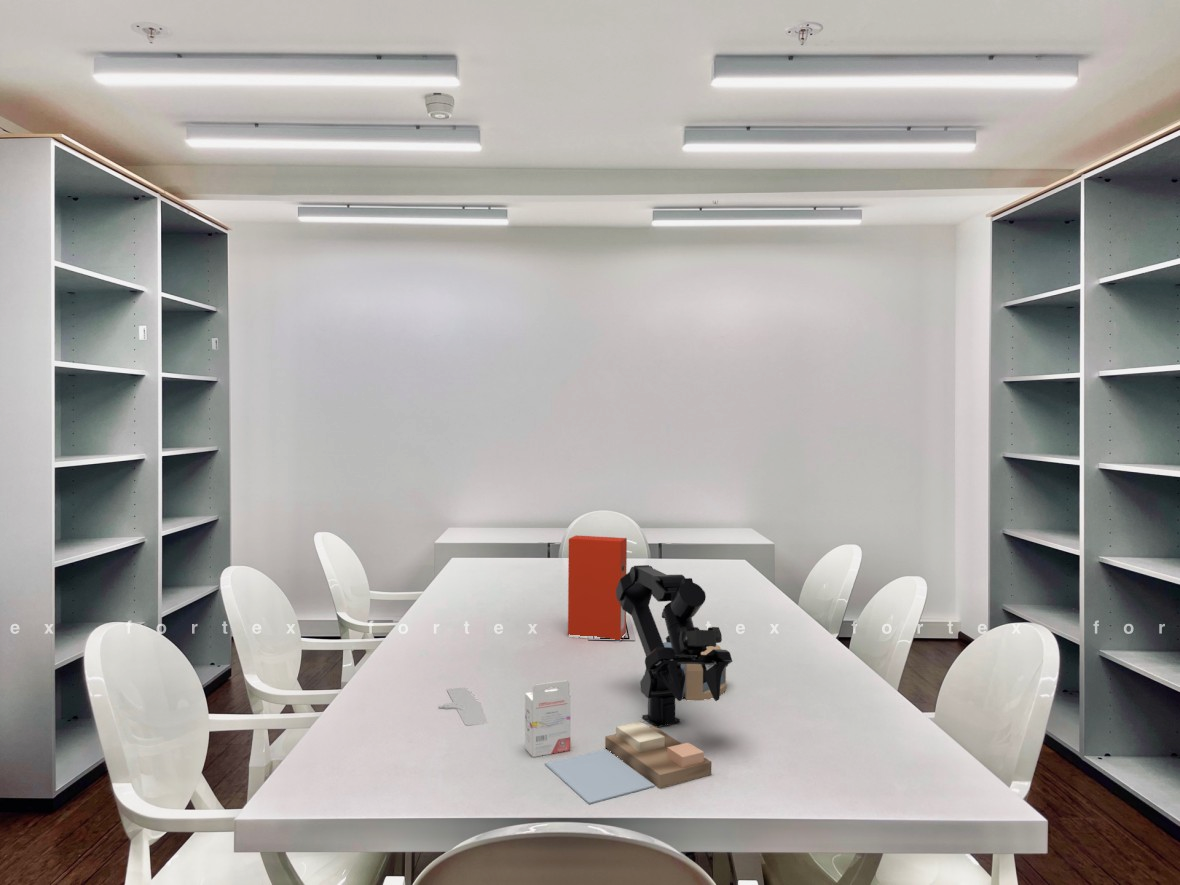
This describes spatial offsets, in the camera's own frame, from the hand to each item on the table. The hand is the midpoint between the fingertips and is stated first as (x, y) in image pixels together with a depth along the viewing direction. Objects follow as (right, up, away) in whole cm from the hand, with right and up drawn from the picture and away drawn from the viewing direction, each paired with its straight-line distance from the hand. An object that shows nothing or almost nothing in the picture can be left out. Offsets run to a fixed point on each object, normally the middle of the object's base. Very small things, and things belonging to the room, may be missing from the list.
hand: (699, 700), depth 151 cm
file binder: (-20, -11, +90) cm, 93 cm away
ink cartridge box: (-31, -12, +3) cm, 33 cm away
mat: (-21, -12, -8) cm, 25 cm away
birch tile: (-12, -9, +2) cm, 15 cm away
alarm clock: (+3, -12, +43) cm, 45 cm away
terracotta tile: (-4, -9, -6) cm, 12 cm away
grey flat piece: (-47, -12, +30) cm, 57 cm away
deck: (-9, -12, -1) cm, 15 cm away
